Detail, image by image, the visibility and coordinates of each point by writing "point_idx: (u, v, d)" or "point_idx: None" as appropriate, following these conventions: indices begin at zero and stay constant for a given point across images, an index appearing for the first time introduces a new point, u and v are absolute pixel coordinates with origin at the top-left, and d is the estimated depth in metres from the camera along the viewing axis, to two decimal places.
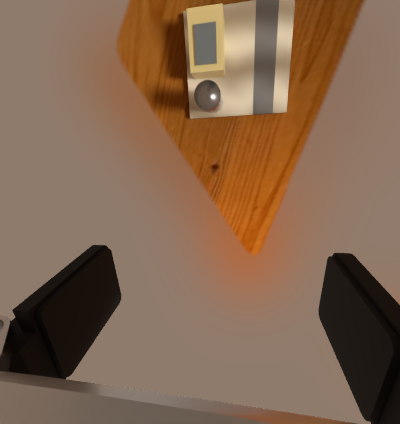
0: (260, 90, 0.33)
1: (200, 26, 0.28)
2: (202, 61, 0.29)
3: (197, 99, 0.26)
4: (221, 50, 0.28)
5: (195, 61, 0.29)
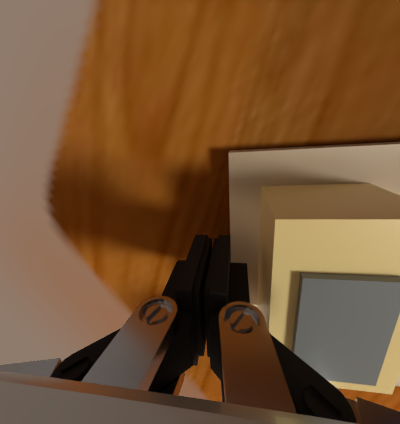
0: None
1: (332, 287, 0.07)
2: None
3: None
4: None
5: None
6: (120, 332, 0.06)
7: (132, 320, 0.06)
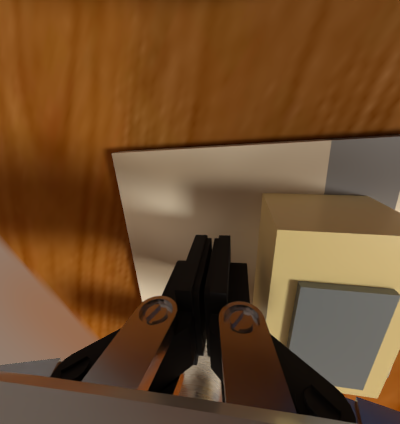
0: None
1: (327, 297, 0.07)
2: None
3: None
4: (387, 358, 0.08)
5: None
6: (120, 332, 0.06)
7: (132, 320, 0.06)
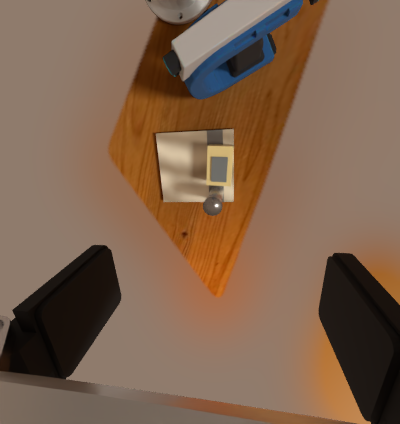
0: (213, 186, 0.44)
1: (216, 158, 0.38)
2: (215, 180, 0.39)
3: (205, 209, 0.37)
4: (230, 174, 0.39)
5: (210, 178, 0.40)
6: None
7: None
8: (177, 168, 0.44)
